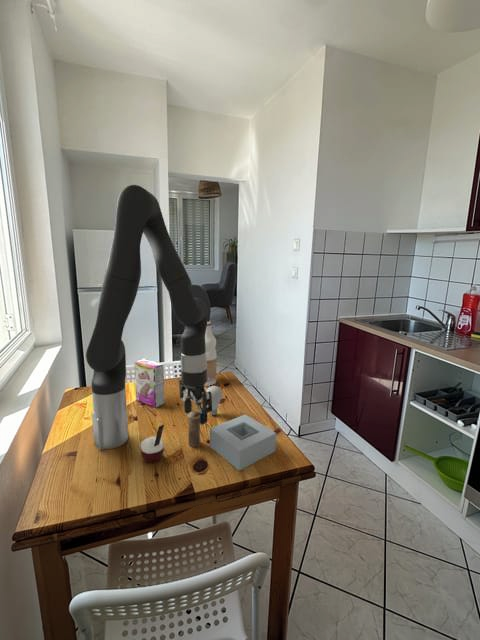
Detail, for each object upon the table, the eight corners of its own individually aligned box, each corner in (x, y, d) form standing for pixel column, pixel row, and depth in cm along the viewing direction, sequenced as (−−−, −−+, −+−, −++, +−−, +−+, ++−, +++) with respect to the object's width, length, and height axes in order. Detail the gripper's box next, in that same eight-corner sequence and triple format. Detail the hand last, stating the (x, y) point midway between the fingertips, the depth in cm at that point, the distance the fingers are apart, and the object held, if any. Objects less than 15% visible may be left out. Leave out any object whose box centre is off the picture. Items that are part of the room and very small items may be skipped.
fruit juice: (217, 386, 139) (217, 324, 133) (195, 387, 137) (195, 324, 132) (215, 378, 148) (215, 320, 142) (195, 379, 147) (194, 320, 141)
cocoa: (139, 454, 92) (136, 415, 90) (161, 448, 95) (158, 410, 93) (145, 472, 84) (141, 431, 81) (168, 465, 86) (165, 425, 84)
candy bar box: (135, 401, 124) (133, 361, 120) (145, 396, 128) (143, 357, 125) (155, 408, 118) (154, 367, 115) (165, 403, 122) (164, 363, 119)
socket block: (239, 470, 85) (239, 450, 84) (209, 446, 96) (209, 427, 94) (275, 451, 94) (276, 432, 93) (244, 430, 104) (245, 413, 103)
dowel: (192, 448, 94) (192, 418, 92) (186, 443, 97) (186, 413, 95) (202, 444, 97) (202, 414, 95) (196, 439, 99) (195, 410, 97)
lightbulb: (225, 413, 116) (225, 385, 114) (217, 420, 111) (217, 391, 108) (210, 409, 118) (210, 381, 116) (202, 416, 113) (202, 388, 111)
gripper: (170, 363, 95) (173, 412, 98) (196, 377, 84) (198, 432, 88) (191, 358, 100) (193, 405, 103) (218, 370, 89) (219, 422, 92)
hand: (195, 417), depth 95 cm, fingers open, 8 cm apart
